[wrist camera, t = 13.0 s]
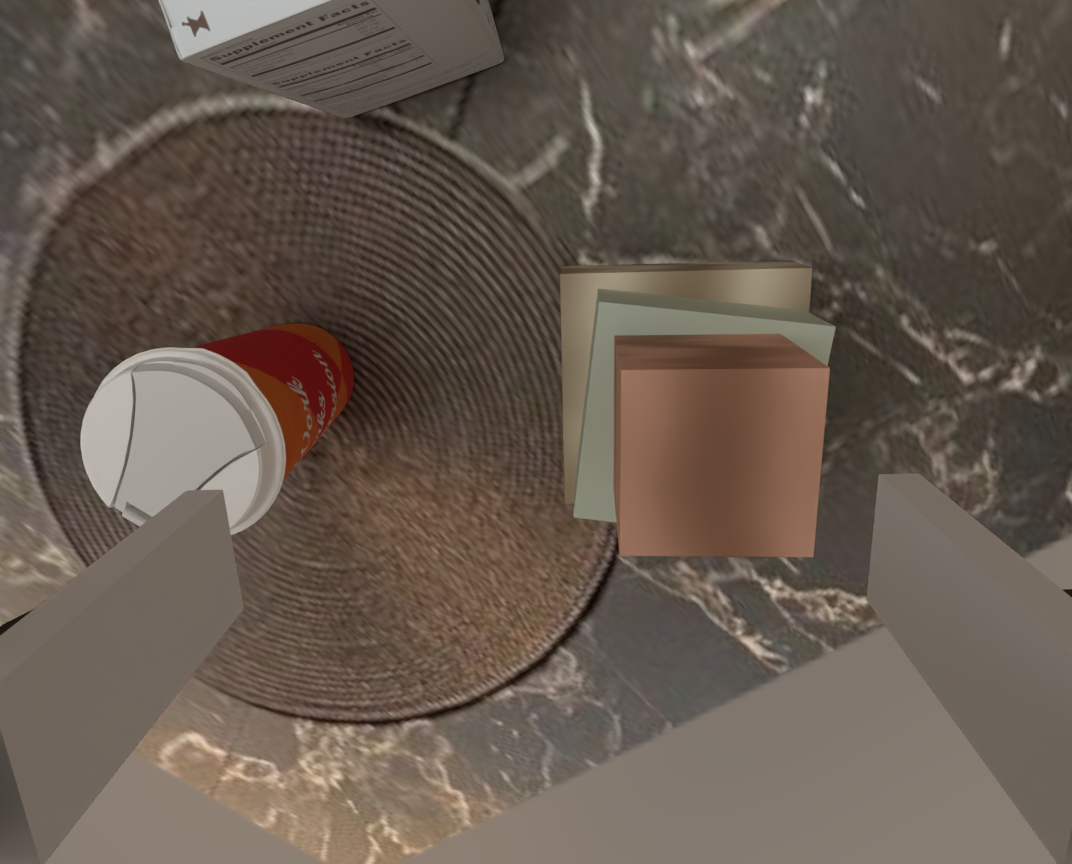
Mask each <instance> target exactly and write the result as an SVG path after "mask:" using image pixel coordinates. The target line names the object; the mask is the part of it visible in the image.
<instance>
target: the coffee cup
mask: <svg viewBox="0 0 1072 864" xmlns="http://www.w3.org/2000/svg"><path fill="white" fill-rule="evenodd" d="M353 386H354V370H353V366H352V362H351V359H350V357H349V355H348V353H347V351H346V349H345V348H344V347H343V345H342V344H341V343H340V342H339V341H338V340H337V339H336V338H335V337H334V336H333V335H332V334H330V333H329V332H327V331H325V330H324V329H322V328H319V327H317V326H314V325H310V324H303V323H292V324H285V325H279V326H275V327H270V328H266V329H262V330H258V331H254V332H250V333H246V334H242V335H238V336H235V337H231V338H227V339H223V340H219V341H215V342H212V343H208V344H204V345H200V346H196V347H193V348H173V347H167V348H158V349H152V350H149V351H145V352H142V353H138V354H136V355H134V356H132V357H130V358H128V359H126V360H124V361H123V362H122V363H120V364H119V365H118V366H116V367H115V368H114V369H113V370H112V371H111V372H110V373H109V374H108V375H107V376H106V377H105V379H104V380H103V381H102V383H101V385H100V386H99V388H98V390H97V391H96V393H95V396H94V397H93V399H92V401H91V402H90V404H89V405H88V408H87V410H86V413H85V416H84V418H83V423H82V429H81V453H82V460H83V463H84V466H85V469H86V473H87V475H88V477H89V479H90V481H91V483H92V486H93V487H94V489H95V490H96V492H97V493H98V495H99V496H100V498H101V499H102V500H103V501H104V503H105V504H106V505H107V506H108V507H110V508H111V507H114V506H115V508H116V509H118V510H119V511H121V512H123V513H122V516H123V517H124V518H126V519H128V520H129V521H131V522H133V523H135V524H136V525H138V526H142V525H143V524H144V523H145V522H147V521H148V520H149V519H151V518H152V517H153V516H154V515H156V514H157V513H158V512H160V511H161V510H162V509H163V508H165V507H166V506H167V505H169V504H170V503H171V502H172V501H174V500H175V499H176V498H177V497H179V496H180V495H181V494H183V493H184V492H185V491H187V490H223V493H224V499H225V505H226V510H227V516H228V522H229V527H230V533H231V535H233V534H235V533H238V532H240V531H242V530H244V529H246V528H248V527H249V526H251V525H252V524H254V523H255V522H257V521H258V520H259V519H260V518H261V517H262V516H263V515H264V514H265V513H266V512H267V511H268V509H269V508H270V507H271V505H272V504H273V502H274V501H275V499H276V497H277V495H278V493H279V491H280V489H281V486H282V482H283V480H284V479H285V478H286V477H287V475H288V474H289V473H290V472H291V471H292V470H293V468H294V467H295V466H296V465H297V464H298V463H299V462H300V460H301V459H302V458H303V457H304V456H305V455H306V453H307V452H308V451H309V450H310V449H311V448H312V446H313V445H314V444H315V443H316V442H317V441H318V439H319V438H320V437H321V436H322V435H323V434H324V432H325V431H326V430H327V429H328V428H329V426H330V425H331V424H332V423H333V422H334V420H335V419H336V418H337V417H338V415H339V414H340V413H341V411H342V410H343V409H344V407H345V406H346V404H347V403H348V401H349V399H350V396H351V394H352V390H353Z"/></svg>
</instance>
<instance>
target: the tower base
mask: <svg viewBox="0 0 1072 864" xmlns="http://www.w3.org/2000/svg"><path fill="white" fill-rule="evenodd" d="M811 281H812V268H811V267H808V266H805V265H802V264H798V263H795V262H792V261H753V262H713V263H673V264H633V265H593V266H563V267H562V270H561V273H560V295H561V344H562V393H563V442H564V491H565V504H574V489H575V475H576V467H577V458H578V450H579V441H580V433H581V425H582V416H583V408H584V399H585V391H586V383H587V374H588V366H589V358H590V349H591V341H592V332H593V324H594V316H595V307H596V299H597V290H598V289H608V290H618V291H627V292H637V293H646V294H656V295H665V296H675V297H684V298H694V299H703V300H713V301H722V302H732V303H741V304H751V305H760V306H770V307H779V308H789V309H798V310H805V311H807V312H809V309H810V295H811Z"/></svg>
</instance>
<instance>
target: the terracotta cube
mask: <svg viewBox="0 0 1072 864" xmlns="http://www.w3.org/2000/svg"><path fill="white" fill-rule="evenodd" d="M829 373H830V368H829V367H828V366H826V365H825V364H823V363H822V362H821V361H819V360H818V359H816V358H815V357H813V356H812V355H810V354H809V353H808V352H806V351H805V350H803V349H802V348H800V347H799V346H797V345H796V344H795V343H793V342H792V341H790V340H789V339H787V338H786V337H784V336H783V335H782V334H701V335H619V336H614V463H613V490H614V500H615V511H616V522H617V533H618V543H619V554H620V556H721V557H813V555H814V543H815V532H816V521H817V509H818V498H819V487H820V475H821V464H822V453H823V441H824V430H825V419H826V407H827V396H828V385H829Z"/></svg>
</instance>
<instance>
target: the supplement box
mask: <svg viewBox="0 0 1072 864" xmlns="http://www.w3.org/2000/svg"><path fill="white" fill-rule="evenodd" d="M159 3H160V5H161V8H162V11H163V13H164V16H165V19H166V22H167V25H168V28H169V31H170V34H171V37H172V40H173V43H174V46H175V49H176V52H177V54H178V57H179V59H180V60H182V61H184V62H186V63H189V64H192V65H195V66H198V67H201V68H204V69H207V70H209V71H212V72H215V73H218V74H220V75H223V76H226V77H229V78H232V79H235V80H237V81H240V82H243V83H246V84H249V85H252V86H254V87H257V88H260V89H263V90H266V91H269V92H272V93H275V94H278V95H281V96H283V97H286V98H288V99H291V100H294V101H297V102H300V103H303V104H306V105H309V106H311V107H314V108H317V109H319V110H322V111H325V112H328V113H331V114H334V115H336V116H339V117H341V118H350V117H353V116H356V115H358V114H361V113H364V112H367V111H370V110H373V109H376V108H379V107H382V106H385V105H387V104H390V103H393V102H396V101H399V100H402V99H404V98H407V97H410V96H413V95H416V94H418V93H421V92H424V91H427V90H429V89H432V88H435V87H438V86H441V85H443V84H446V83H449V82H452V81H454V80H457V79H460V78H462V77H465V76H468V75H470V74H473V73H476V72H478V71H481V70H484V69H487V68H489V67H492V66H495V65H497V64H500V63H502V62H503V61H504V54H503V51H502V47H501V43H500V40H499V36H498V33H497V29H496V26H495V22H494V19H493V15H492V11H491V8H490V4H489V1H488V0H159Z"/></svg>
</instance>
